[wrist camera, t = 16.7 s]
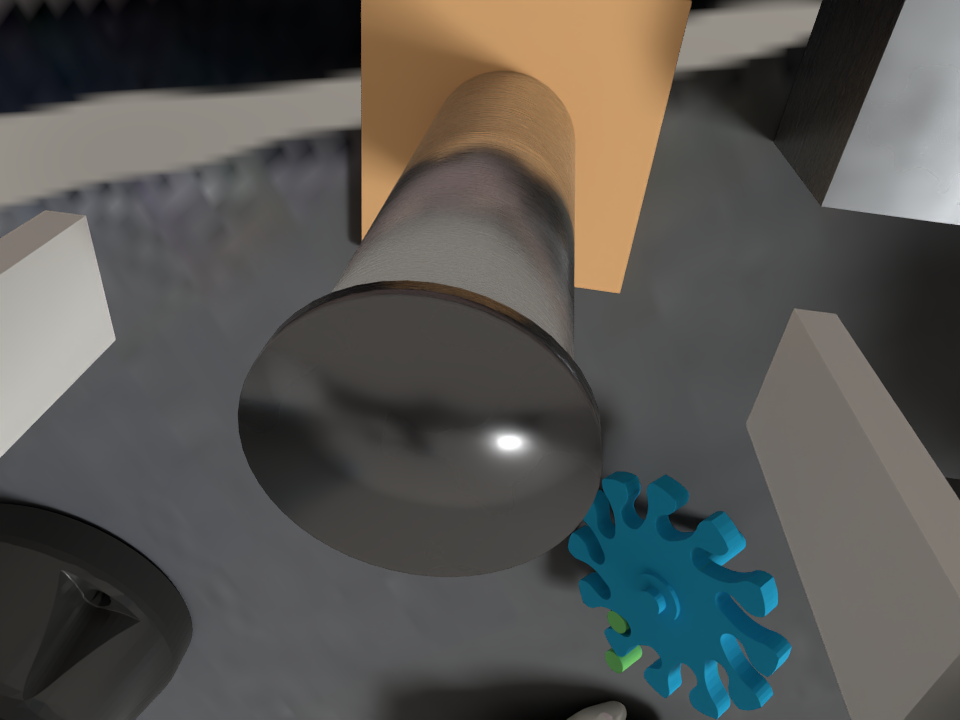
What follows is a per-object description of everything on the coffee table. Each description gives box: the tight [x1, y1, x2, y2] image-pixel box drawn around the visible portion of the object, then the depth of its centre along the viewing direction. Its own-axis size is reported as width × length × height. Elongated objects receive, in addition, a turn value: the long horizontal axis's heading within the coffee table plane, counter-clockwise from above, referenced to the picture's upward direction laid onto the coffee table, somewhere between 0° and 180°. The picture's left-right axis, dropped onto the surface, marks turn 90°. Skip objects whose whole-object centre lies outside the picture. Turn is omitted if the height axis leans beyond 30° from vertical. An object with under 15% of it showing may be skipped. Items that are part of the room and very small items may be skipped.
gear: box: [568, 472, 791, 719], centre depth 29 cm, size 11×6×10 cm
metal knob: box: [238, 71, 602, 577], centre depth 16 cm, size 5×5×14 cm
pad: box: [361, 0, 692, 293], centre depth 21 cm, size 9×9×1 cm
